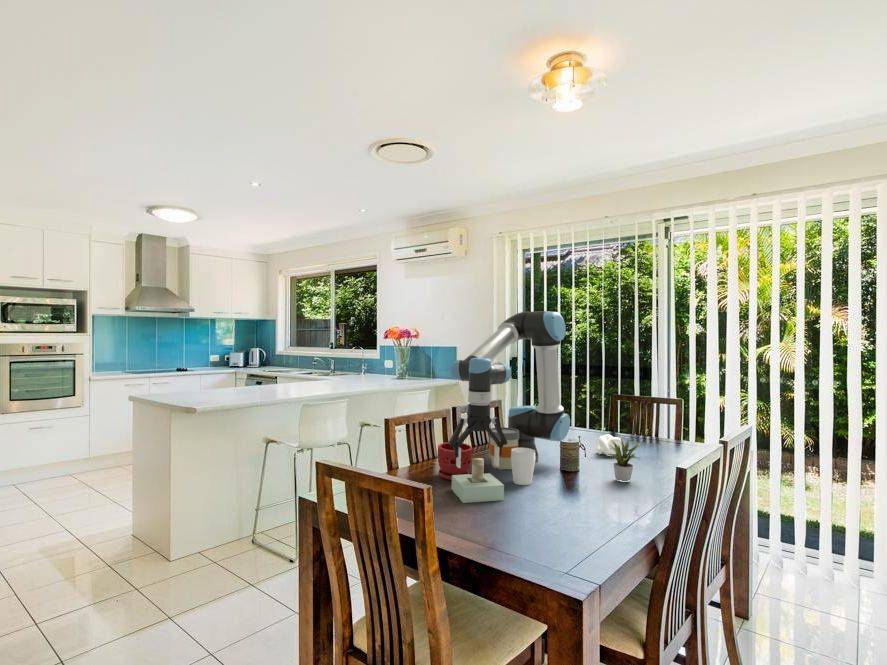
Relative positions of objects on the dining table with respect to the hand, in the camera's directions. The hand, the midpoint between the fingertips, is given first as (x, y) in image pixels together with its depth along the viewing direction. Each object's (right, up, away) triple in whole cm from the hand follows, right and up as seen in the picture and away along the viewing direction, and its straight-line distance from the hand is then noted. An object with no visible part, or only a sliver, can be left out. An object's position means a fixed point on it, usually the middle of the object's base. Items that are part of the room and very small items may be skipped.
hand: (477, 466), depth 175 cm
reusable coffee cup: (+13, -10, +37) cm, 40 cm away
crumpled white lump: (+63, -11, +61) cm, 89 cm away
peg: (0, -10, 0) cm, 10 cm away
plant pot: (-8, -10, +20) cm, 23 cm away
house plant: (+57, -11, +19) cm, 61 cm away
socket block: (0, -10, 0) cm, 10 cm away
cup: (+18, -10, +15) cm, 25 cm away
